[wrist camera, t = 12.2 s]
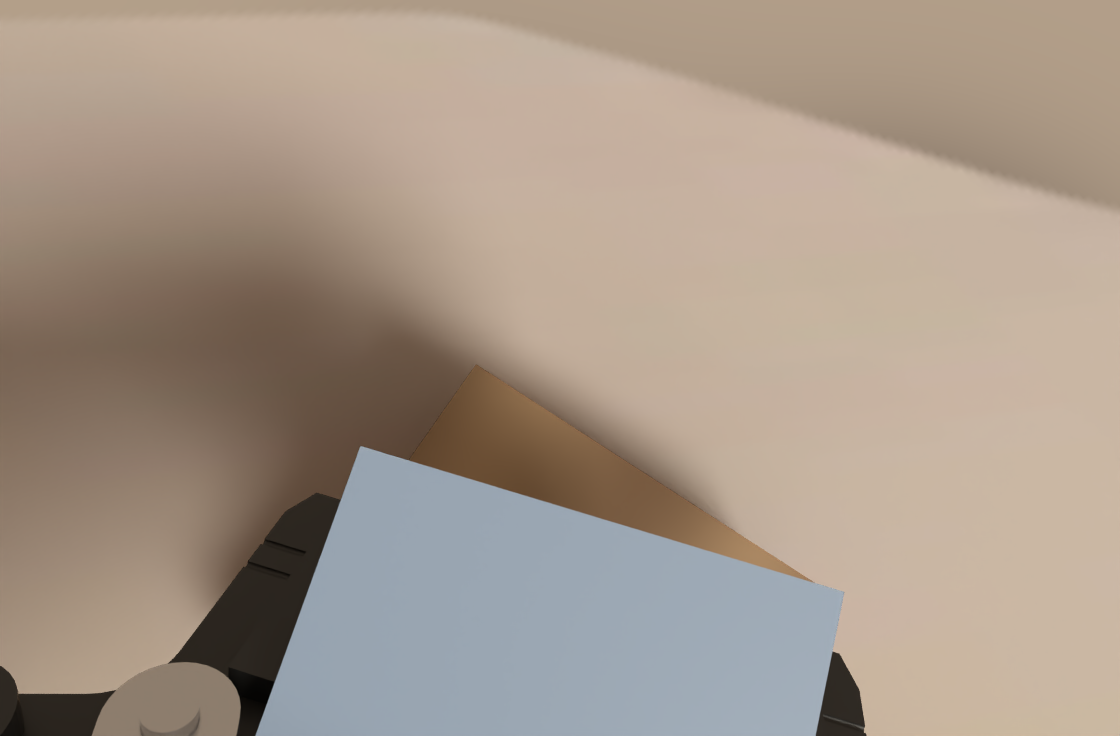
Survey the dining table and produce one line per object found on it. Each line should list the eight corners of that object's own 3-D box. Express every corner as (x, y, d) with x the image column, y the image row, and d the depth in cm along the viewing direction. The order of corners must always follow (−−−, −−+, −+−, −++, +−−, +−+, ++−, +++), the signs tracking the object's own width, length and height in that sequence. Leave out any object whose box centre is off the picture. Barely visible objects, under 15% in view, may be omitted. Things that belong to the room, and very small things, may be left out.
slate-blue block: (362, 776, 15) (159, 998, 7) (449, 509, 16) (360, 446, 8) (627, 863, 14) (723, 1193, 7) (695, 584, 16) (844, 591, 8)
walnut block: (290, 690, 23) (225, 721, 18) (488, 404, 25) (475, 364, 21) (585, 903, 22) (597, 997, 17) (765, 584, 24) (821, 587, 19)
